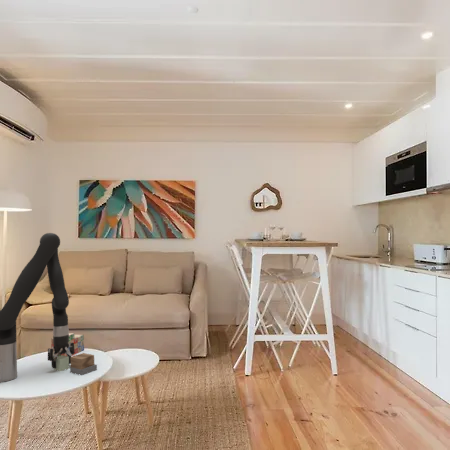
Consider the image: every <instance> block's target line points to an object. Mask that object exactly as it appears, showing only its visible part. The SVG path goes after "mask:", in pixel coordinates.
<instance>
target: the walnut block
mask: <svg viewBox="0 0 450 450" xmlns="http://www.w3.org/2000/svg"><path fill="white" fill-rule="evenodd" d="M70 358H71V363H70V367H72V368H76V369H81V370H82V369H84V368H87V367H90V366H93V365H94V364H95V355H94V354H90V353H85V352H82V353H80V354H79V353H78V354H75V355H72V356H71V357H70Z"/></svg>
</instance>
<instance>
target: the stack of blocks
mask: <svg viewBox="0 0 450 450" xmlns="http://www.w3.org/2000/svg"><path fill="white" fill-rule="evenodd" d="M84 339H85V337H84V334H75V333H74V332H73V333H70V332H69V342H68V344H69V343H70V342H72V343H74V350H75V353H74V354H72V356H76V355H78V354H79V353H81V352H82V351H84V350H85V340H84ZM51 348H54V344H53V337H52V338H51ZM68 350H69V351H70V349H69V347H68ZM53 353H54V352H53ZM59 356H67V355H66V353H65V354H61V355H59Z"/></svg>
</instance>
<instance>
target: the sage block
mask: <svg viewBox="0 0 450 450" xmlns="http://www.w3.org/2000/svg"><path fill="white" fill-rule="evenodd" d="M68 368H69V369H70V364H69V357H67V356H59V357H57V359H56V368H55V369H54V368H53V369H54V371H57V370H58V372H62V370H63V371H65V369H66V370H69V369H68Z"/></svg>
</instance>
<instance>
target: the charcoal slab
mask: <svg viewBox="0 0 450 450" xmlns="http://www.w3.org/2000/svg"><path fill="white" fill-rule="evenodd" d="M97 365H98V364H95V363H94V365H93V366H90V367H87V368H84V369H82V370H81V369H76V368H72V367H71V366H69V369H70V370H69V373H71V372H72V374H75V373H76V375H79V374H80V375H79V376H84V375H88V374H89V373H92V372H95V371H97V368H98V367H97Z"/></svg>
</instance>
